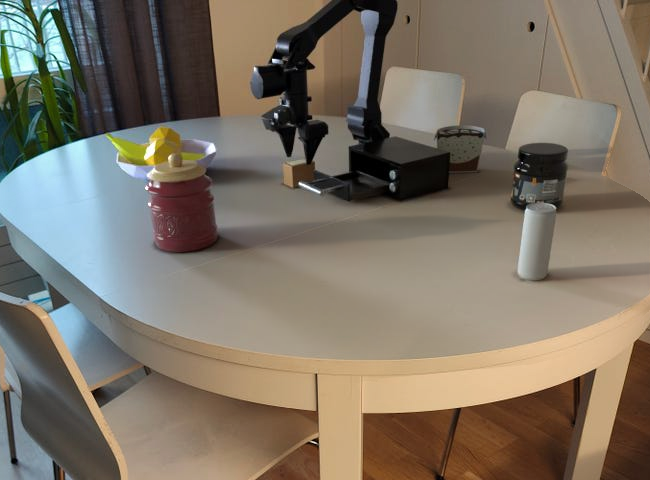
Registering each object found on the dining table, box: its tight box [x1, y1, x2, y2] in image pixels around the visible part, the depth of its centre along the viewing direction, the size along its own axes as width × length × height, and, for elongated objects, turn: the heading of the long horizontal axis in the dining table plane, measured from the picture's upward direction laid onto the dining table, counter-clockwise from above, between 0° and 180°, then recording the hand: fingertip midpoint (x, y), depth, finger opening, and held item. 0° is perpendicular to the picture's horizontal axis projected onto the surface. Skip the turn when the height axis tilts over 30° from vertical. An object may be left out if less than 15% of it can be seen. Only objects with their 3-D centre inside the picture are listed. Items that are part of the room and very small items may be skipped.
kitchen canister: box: [145, 153, 219, 253], centre depth 135 cm, size 13×13×18 cm
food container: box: [433, 124, 487, 174], centre depth 168 cm, size 12×6×10 cm, turn 84°
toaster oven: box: [348, 136, 450, 202], centre depth 160 cm, size 20×15×8 cm
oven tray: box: [298, 169, 390, 203], centre depth 156 cm, size 14×18×4 cm
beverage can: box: [517, 203, 557, 281], centre depth 113 cm, size 5×5×12 cm
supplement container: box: [510, 142, 569, 212], centre depth 142 cm, size 10×10×12 cm
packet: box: [282, 157, 316, 189], centre depth 167 cm, size 4×6×5 cm
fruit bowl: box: [105, 125, 218, 181], centre depth 179 cm, size 28×27×11 cm
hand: (298, 160), depth 165 cm, fingers open, 9 cm apart
